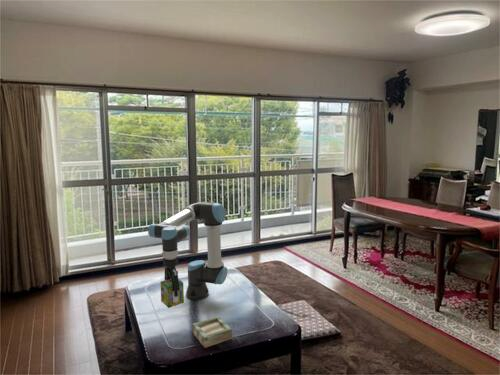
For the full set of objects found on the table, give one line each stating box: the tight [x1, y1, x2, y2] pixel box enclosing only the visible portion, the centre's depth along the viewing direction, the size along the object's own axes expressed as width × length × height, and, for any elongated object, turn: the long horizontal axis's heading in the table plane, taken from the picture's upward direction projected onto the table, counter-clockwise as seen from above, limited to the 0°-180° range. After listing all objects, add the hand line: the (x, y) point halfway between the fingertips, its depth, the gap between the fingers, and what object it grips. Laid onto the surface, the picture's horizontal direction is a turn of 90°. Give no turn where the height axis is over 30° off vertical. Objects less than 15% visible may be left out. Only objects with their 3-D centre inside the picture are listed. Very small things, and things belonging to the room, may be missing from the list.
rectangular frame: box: [192, 315, 233, 349], centre depth 196 cm, size 16×16×6 cm
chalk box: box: [160, 275, 185, 309], centre depth 188 cm, size 9×9×15 cm
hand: (172, 297), depth 189 cm, fingers closed on chalk box, 9 cm apart
